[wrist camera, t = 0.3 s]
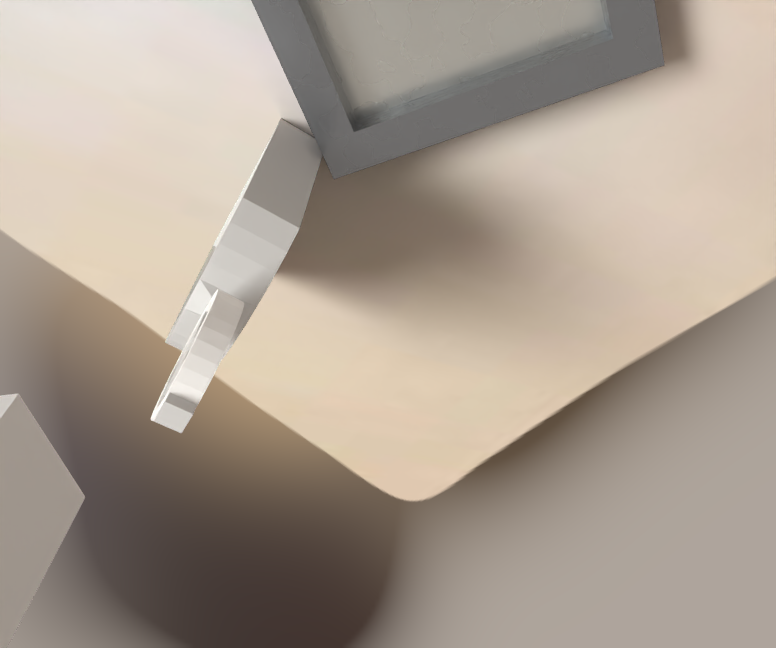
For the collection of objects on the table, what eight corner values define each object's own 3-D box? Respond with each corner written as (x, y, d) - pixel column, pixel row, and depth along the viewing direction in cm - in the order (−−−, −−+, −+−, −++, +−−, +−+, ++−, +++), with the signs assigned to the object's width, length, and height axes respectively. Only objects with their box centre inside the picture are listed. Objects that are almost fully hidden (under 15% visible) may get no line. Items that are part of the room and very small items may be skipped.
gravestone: (212, 246, 43) (98, 474, 28) (281, 118, 38) (186, 314, 23) (253, 268, 43) (163, 500, 29) (325, 144, 38) (261, 351, 24)
